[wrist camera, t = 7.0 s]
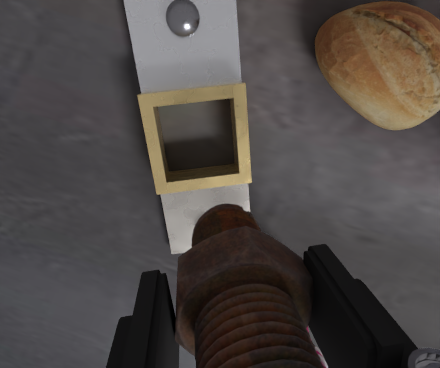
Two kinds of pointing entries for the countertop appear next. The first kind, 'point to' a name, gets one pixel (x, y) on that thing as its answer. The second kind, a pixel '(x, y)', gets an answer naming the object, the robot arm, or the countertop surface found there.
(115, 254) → the countertop surface
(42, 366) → the countertop surface
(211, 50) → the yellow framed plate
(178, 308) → the bolt
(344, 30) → the bread roll
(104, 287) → the countertop surface
